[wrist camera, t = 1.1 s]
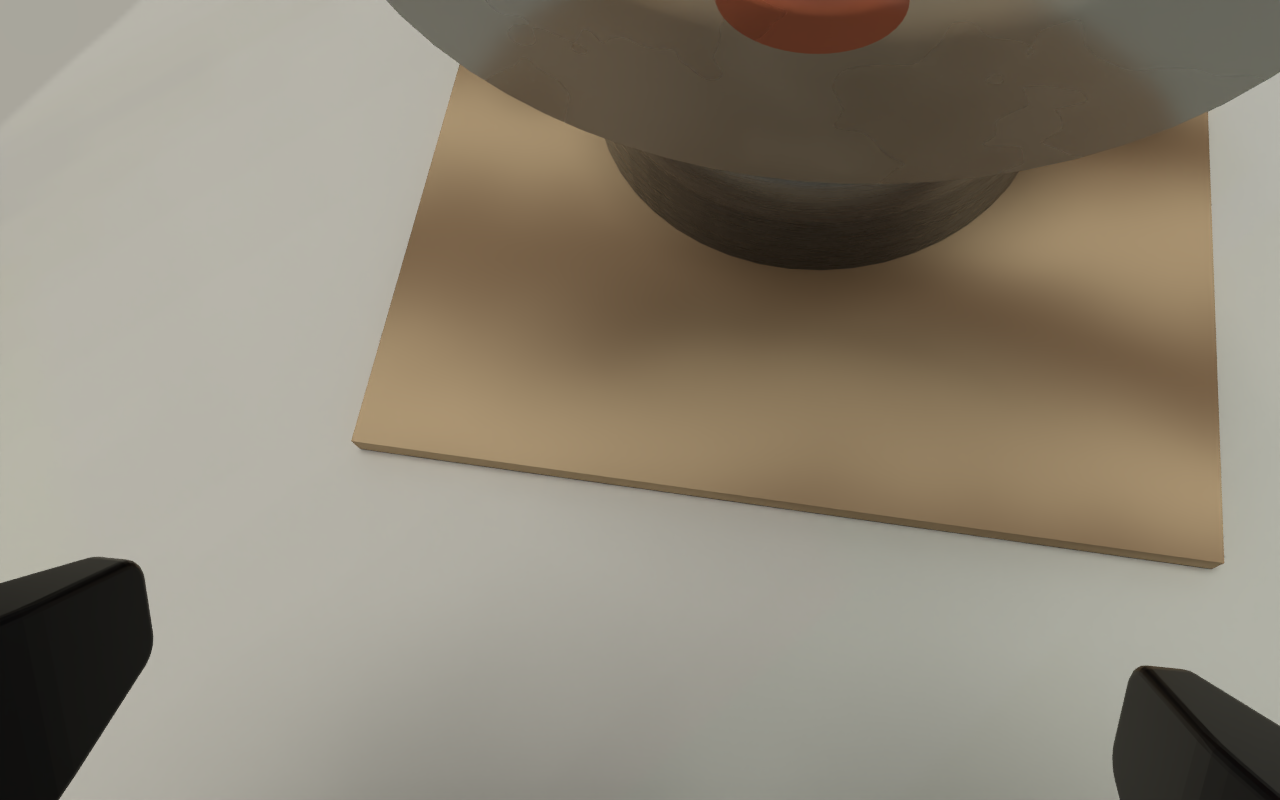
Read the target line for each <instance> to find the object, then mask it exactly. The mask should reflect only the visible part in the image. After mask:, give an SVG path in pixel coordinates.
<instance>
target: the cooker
mask: <svg viewBox="0 0 1280 800" xmlns="http://www.w3.org/2000/svg"><path fill="white" fill-rule="evenodd" d="M605 141H606V144H607V147H608V150H609V152H610V154H611V156H612V158H613V159H614V161H615V163H616V165H617V167H618V169H619V171H620V173H621V174H622V175H623V177H624V178H625V179H626V181H627V182H628V184H629V185H630V186H631V188H632V189H633V190H634V192H635V193H636V194H637V195H638V196H639V197H640V198H641V199H642V200H643V201H644V202H645V203H646V204H647V205H648V206H649V207H650V208H651V209H652V210H653V211H654V212H655V213H656V214H657V215H659V216H660V217H661V218H663V219H664V220H665V221H666V222H668V223H669V224H670V225H672V226H673V227H674V228H676V229H677V230H679V231H680V232H682V233H684V234H686V235H687V236H689V237H691V238H693V239H694V240H696V241H698V242H699V243H701V244H703V245H706V246H708V247H711V248H713V249H715V250H718V251H720V252H722V253H725V254H727V255H730V256H733V257H737V258H740V259H744V260H747V261H751V262H754V263H758V264H763V265H769V266H775V267H781V268H788V269H804V270H833V269H848V268H857V267H862V266H867V265H873V264H878V263H884V262H887V261H890V260H894V259H897V258H900V257H903V256H907V255H910V254H913V253H916V252H918V251H920V250H922V249H924V248H927V247H929V246H931V245H933V244H936V243H938V242H940V241H942V240H944V239H946V238H947V237H949V236H950V235H952V234H954V233H955V232H957V231H959V230H960V229H962V228H964V227H965V226H967V225H968V224H969V223H971V222H972V221H973V220H974V219H976V218H977V217H978V216H979V215H981V214H982V213H983V212H984V211H986V210H987V209H988V208H989V207H990V206H991V205H992V204H993V203H994V202H995V201H996V200H997V199H998V198H999V197H1000V196H1001V194H1002V193H1003V192H1004V191H1005V190H1006V189H1007V188H1008V187H1009V186H1010V184H1011V183H1012V181H1013V180H1014V178H1015V177H1016V175H1017V174H1018V173H1019V171H1016V172H1010V173H1004V174H998V175H991V176H985V177H978V178H968V179H958V180H948V181H938V182H923V183H900V184H839V183H823V182H808V181H794V180H786V179H777V178H769V177H760V176H752V175H746V174H741V173H735V172H729V171H723V170H718V169H712V168H707V167H703V166H698V165H694V164H690V163H686V162H681V161H677V160H673V159H668V158H665V157H661V156H658V155H655V154H651V153H648V152H644V151H641V150H638V149H634V148H631V147H627V146H624V145H622V144H619V143H616V142H613V141H610V140H608V139H605Z"/></svg>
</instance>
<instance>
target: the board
mask: <svg viewBox="0 0 1280 800" xmlns="http://www.w3.org/2000/svg"><path fill="white" fill-rule="evenodd" d="M351 441H352V442H353V443H354V444H355V445H356V446H358V447H359V448H360V449H366V450H373V451H380V452H387V453H394V454H401V455H408V456H415V457H423V458H430V459H437V460H444V461H451V462H458V463H465V464H472V465H479V466H486V467H493V468H501V469H508V470H515V471H522V472H529V473H536V474H543V475H550V476H557V477H564V478H571V479H579V480H586V481H593V482H600V483H607V484H614V485H621V486H628V487H635V488H642V489H649V490H657V491H664V492H671V493H678V494H685V495H692V496H699V497H706V498H713V499H720V500H727V501H735V502H742V503H749V504H756V505H763V506H770V507H777V508H784V509H791V510H798V511H805V512H813V513H820V514H827V515H834V516H841V517H848V518H855V519H862V520H869V521H876V522H883V523H891V524H898V525H905V526H912V527H919V528H926V529H933V530H940V531H947V532H954V533H961V534H969V535H976V536H983V537H990V538H997V539H1004V540H1011V541H1018V542H1025V543H1032V544H1039V545H1047V546H1054V547H1061V548H1068V549H1075V550H1082V551H1089V552H1096V553H1103V554H1110V555H1117V556H1125V557H1132V558H1139V559H1146V560H1153V561H1160V562H1167V563H1174V564H1181V565H1188V566H1195V567H1203V568H1210V569H1212V568H1214V567H1217V566H1219V565H1221V564H1223V563H1224V546H1223V518H1222V490H1221V463H1220V435H1219V408H1218V380H1217V352H1216V325H1215V297H1214V269H1213V242H1212V214H1211V186H1210V159H1209V131H1208V112H1205V113H1203V114H1201V115H1199V116H1197V117H1194V118H1192V119H1190V120H1188V121H1186V122H1183V123H1181V124H1179V125H1177V126H1175V127H1172V128H1169V129H1167V130H1164V131H1161V132H1158V133H1156V134H1153V135H1150V136H1148V137H1145V138H1142V139H1139V140H1137V141H1134V142H1131V143H1128V144H1126V145H1123V146H1119V147H1116V148H1112V149H1109V150H1105V151H1102V152H1098V153H1095V154H1091V155H1088V156H1085V157H1081V158H1078V159H1074V160H1069V161H1065V162H1060V163H1056V164H1051V165H1047V166H1042V167H1038V168H1033V169H1029V170H1023V171H1019V173H1018V174H1017V175H1016V177H1015V178H1014V180H1013V181H1012V183H1011V184H1010V186H1009V187H1008V188H1007V189H1006V190H1005V191H1004V192H1003V193H1002V194H1001V196H1000V197H999V198H998V199H997V200H996V201H995V202H994V203H993V204H992V205H991V206H990V207H989V208H988V209H987V210H986V211H984V212H983V213H982V214H981V215H979V216H978V217H977V218H976V219H974V220H973V221H972V222H971V223H969V224H968V225H967V226H965V227H964V228H962V229H960V230H959V231H957V232H955V233H954V234H952V235H950V236H949V237H947V238H946V239H944V240H942V241H940V242H938V243H936V244H933V245H931V246H929V247H927V248H924V249H922V250H920V251H918V252H916V253H913V254H910V255H907V256H903V257H900V258H897V259H894V260H890V261H887V262H884V263H878V264H873V265H867V266H862V267H857V268H848V269H833V270H804V269H788V268H781V267H775V266H769V265H763V264H758V263H754V262H751V261H747V260H744V259H740V258H737V257H733V256H730V255H727V254H725V253H722V252H720V251H718V250H715V249H713V248H711V247H708V246H706V245H703V244H701V243H699V242H698V241H696V240H694V239H693V238H691V237H689V236H687V235H686V234H684V233H682V232H680V231H679V230H677V229H676V228H674V227H673V226H672V225H670V224H669V223H668V222H666V221H665V220H664V219H663V218H661V217H660V216H659V215H657V214H656V213H655V212H654V211H653V210H652V209H651V208H650V207H649V206H648V205H647V204H646V203H645V202H644V201H643V200H642V199H641V198H640V197H639V196H638V195H637V194H636V193H635V192H634V190H633V189H632V188H631V186H630V185H629V184H628V182H627V181H626V179H625V178H624V177H623V175H622V174H621V173H620V171H619V169H618V167H617V165H616V163H615V161H614V159H613V158H612V156H611V154H610V152H609V150H608V147H607V144H606V141H605V138H602V137H599V136H597V135H594V134H591V133H588V132H585V131H583V130H581V129H579V128H576V127H574V126H572V125H569V124H567V123H565V122H562V121H560V120H558V119H556V118H553V117H551V116H549V115H546V114H544V113H542V112H540V111H539V110H537V109H535V108H533V107H531V106H529V105H527V104H525V103H523V102H521V101H519V100H517V99H515V98H513V97H512V96H510V95H508V94H506V93H504V92H503V91H501V90H499V89H498V88H496V87H495V86H493V85H491V84H490V83H488V82H486V81H485V80H483V79H482V78H480V77H478V76H477V75H475V74H473V73H472V72H470V71H469V70H467V69H466V68H465V67H463V66H462V65H461V64H460V65H459V69H458V72H457V75H456V79H455V82H454V86H453V89H452V93H451V96H450V100H449V103H448V107H447V110H446V114H445V117H444V121H443V124H442V128H441V131H440V135H439V138H438V142H437V145H436V148H435V152H434V155H433V159H432V162H431V166H430V169H429V173H428V176H427V180H426V183H425V187H424V190H423V194H422V197H421V201H420V204H419V208H418V211H417V214H416V218H415V221H414V225H413V228H412V232H411V235H410V239H409V242H408V246H407V249H406V253H405V256H404V260H403V263H402V267H401V270H400V274H399V277H398V281H397V284H396V287H395V291H394V294H393V298H392V301H391V305H390V308H389V312H388V315H387V319H386V322H385V326H384V329H383V333H382V336H381V340H380V343H379V347H378V350H377V353H376V357H375V360H374V364H373V367H372V371H371V374H370V378H369V381H368V385H367V388H366V392H365V395H364V399H363V402H362V406H361V409H360V413H359V416H358V419H357V423H356V426H355V430H354V433H353V437H352V440H351Z"/></svg>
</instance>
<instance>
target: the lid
mask: <svg viewBox="0 0 1280 800" xmlns="http://www.w3.org/2000/svg"><path fill="white" fill-rule="evenodd" d="M387 1H388V3H389V4H390V5H391V6H392V7H393V8H394V9H395V10H396V11H397V12H398V13H399V14H400V15H401V16H402V17H403V18H404V19H405V20H406V21H407V22H409V23H410V24H411V25H412V26H413V27H414V28H415V29H416V30H418V31H419V32H420V33H421V34H422V35H423V36H424V37H426V38H427V39H428V40H429V41H430V42H431V43H432V44H433V45H435V46H436V47H437V48H439V49H440V50H442V51H443V52H444V53H446V54H447V55H448V56H450V57H451V58H452V59H454V60H455V61H457V62H458V63H459V64H461V65H462V66H463V67H465V68H466V69H467V70H469V71H470V72H472V73H473V74H475V75H477V76H478V77H480V78H482V79H483V80H485V81H486V82H488V83H490V84H491V85H493V86H495V87H496V88H498V89H499V90H501V91H503V92H504V93H506V94H508V95H510V96H512V97H513V98H515V99H517V100H519V101H521V102H523V103H525V104H527V105H529V106H531V107H533V108H535V109H537V110H539V111H540V112H542V113H544V114H546V115H549V116H551V117H553V118H556V119H558V120H560V121H562V122H565V123H567V124H569V125H572V126H574V127H576V128H579V129H581V130H583V131H585V132H588V133H591V134H594V135H597V136H599V137H602V138H605V139H608V140H610V141H613V142H616V143H619V144H622V145H624V146H627V147H631V148H634V149H638V150H641V151H644V152H648V153H651V154H655V155H658V156H661V157H665V158H668V159H673V160H677V161H681V162H686V163H690V164H694V165H698V166H703V167H707V168H712V169H718V170H723V171H729V172H735V173H741V174H746V175H752V176H760V177H769V178H777V179H786V180H794V181H808V182H823V183H839V184H900V183H923V182H938V181H948V180H958V179H968V178H978V177H985V176H991V175H998V174H1004V173H1010V172H1016V171H1023V170H1029V169H1033V168H1038V167H1042V166H1047V165H1051V164H1056V163H1060V162H1065V161H1069V160H1074V159H1078V158H1081V157H1085V156H1088V155H1091V154H1095V153H1098V152H1102V151H1105V150H1109V149H1112V148H1116V147H1119V146H1123V145H1126V144H1128V143H1131V142H1134V141H1137V140H1139V139H1142V138H1145V137H1148V136H1150V135H1153V134H1156V133H1158V132H1161V131H1164V130H1167V129H1169V128H1172V127H1175V126H1177V125H1179V124H1181V123H1183V122H1186V121H1188V120H1190V119H1192V118H1194V117H1197V116H1199V115H1201V114H1203V113H1205V112H1208V111H1210V110H1212V109H1214V108H1216V107H1219V106H1221V105H1223V104H1225V103H1227V102H1228V101H1230V100H1232V99H1234V98H1236V97H1237V96H1239V95H1241V94H1243V93H1244V92H1246V91H1248V90H1250V89H1252V88H1253V87H1255V86H1257V85H1259V84H1261V83H1262V82H1264V81H1266V80H1268V79H1269V78H1271V77H1273V76H1274V75H1276V74H1277V73H1279V72H1280V0H387Z"/></svg>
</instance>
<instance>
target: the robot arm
mask: <svg viewBox="0 0 1280 800" xmlns="http://www.w3.org/2000/svg"><path fill="white" fill-rule="evenodd" d="M152 646H153V630H152V624H151V617H150V611H149V604H148V598H147V591H146V584H145V578H144V574H143V572H142V570H141V568H140V566H139V565H137V564H136V563H135V562H133V561H130V560H125V559H115V558H105V557H91V558H86V559H83V560H79V561H76V562H72V563H69V564H65V565H62V566H59V567H55V568H52V569H48V570H45V571H41V572H38V573H34V574H31V575H27V576H24V577H20V578H17V579H13V580H10V581H7V582H3V583H0V800H59V799H60V797H61V796H62V794H63V793H64V791H65V790H66V788H67V787H68V785H69V784H70V782H71V781H72V779H73V778H74V776H75V775H76V773H77V772H78V770H79V769H80V767H81V766H82V764H83V762H84V761H85V759H86V758H87V756H88V755H89V753H90V751H91V750H92V748H93V747H94V745H95V744H96V742H97V741H98V739H99V737H100V736H101V734H102V733H103V731H104V730H105V728H106V726H107V725H108V723H109V722H110V720H111V719H112V717H113V715H114V714H115V712H116V711H117V709H118V708H119V706H120V705H121V703H122V701H123V700H124V698H125V697H126V695H127V694H128V692H129V690H130V689H131V687H132V686H133V684H134V683H135V681H136V679H137V678H138V676H139V675H140V673H141V672H142V670H143V669H144V667H145V665H146V663H147V662H148V659H149V657H150V654H151V651H152ZM1112 760H1113V773H1114V778H1115V782H1116V786H1117V790H1118V794H1119V798H1120V800H1280V726H1279V725H1277V724H1276V723H1274V722H1273V721H1271V720H1269V719H1268V718H1266V717H1264V716H1263V715H1261V714H1260V713H1258V712H1256V711H1255V710H1253V709H1251V708H1250V707H1248V706H1247V705H1245V704H1243V703H1242V702H1240V701H1238V700H1237V699H1235V698H1234V697H1232V696H1230V695H1229V694H1227V693H1225V692H1224V691H1222V690H1221V689H1219V688H1217V687H1216V686H1214V685H1212V684H1211V683H1209V682H1208V681H1206V680H1204V679H1203V678H1201V677H1199V676H1198V675H1196V674H1195V673H1193V672H1191V671H1187V670H1183V669H1175V668H1165V667H1156V666H1140V667H1138V668H1137V669H1135V670H1134V671H1133V673H1132V675H1131V677H1130V678H1129V681H1128V685H1127V689H1126V693H1125V698H1124V702H1123V706H1122V711H1121V715H1120V719H1119V724H1118V728H1117V732H1116V737H1115V741H1114V746H1113V755H1112Z"/></svg>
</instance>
